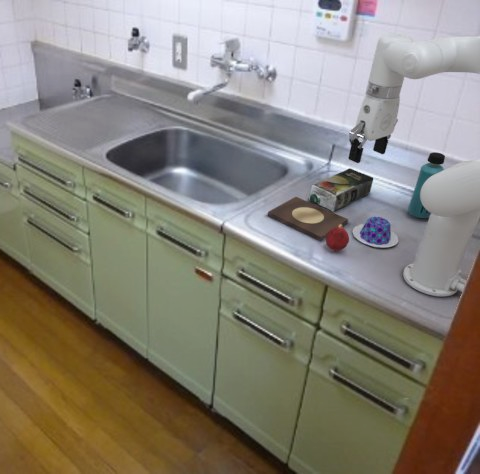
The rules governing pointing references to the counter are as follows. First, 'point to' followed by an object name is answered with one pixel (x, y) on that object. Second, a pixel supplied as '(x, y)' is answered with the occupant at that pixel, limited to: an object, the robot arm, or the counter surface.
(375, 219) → the pudding
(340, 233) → the red round fruit
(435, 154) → the beverage bottle
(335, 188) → the juice carton
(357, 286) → the counter surface
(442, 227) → the robot arm
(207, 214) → the counter surface
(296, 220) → the cutting board
